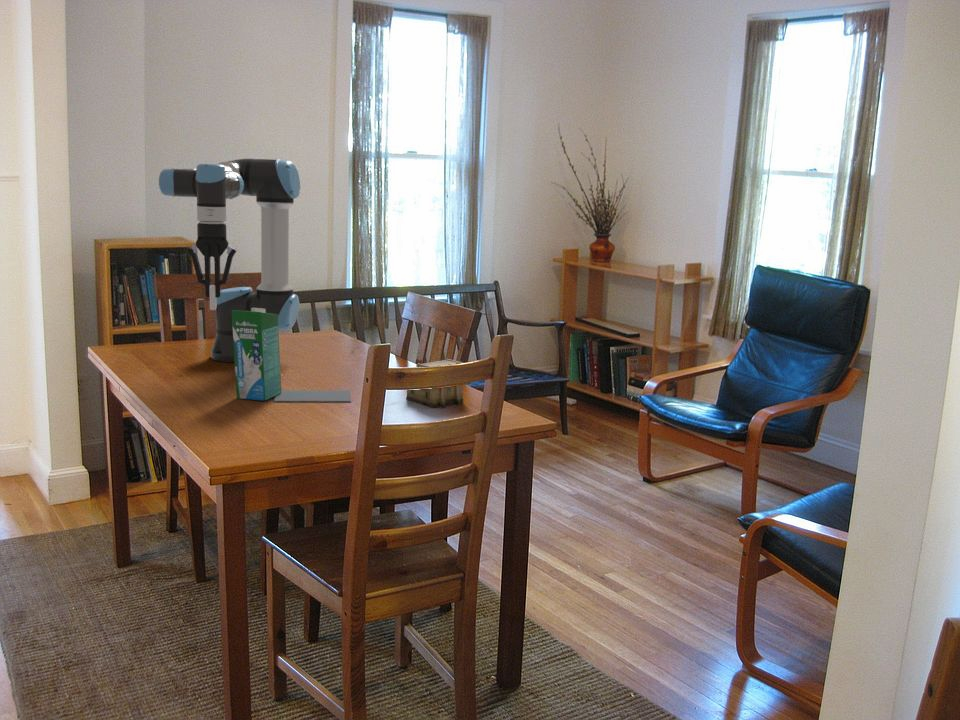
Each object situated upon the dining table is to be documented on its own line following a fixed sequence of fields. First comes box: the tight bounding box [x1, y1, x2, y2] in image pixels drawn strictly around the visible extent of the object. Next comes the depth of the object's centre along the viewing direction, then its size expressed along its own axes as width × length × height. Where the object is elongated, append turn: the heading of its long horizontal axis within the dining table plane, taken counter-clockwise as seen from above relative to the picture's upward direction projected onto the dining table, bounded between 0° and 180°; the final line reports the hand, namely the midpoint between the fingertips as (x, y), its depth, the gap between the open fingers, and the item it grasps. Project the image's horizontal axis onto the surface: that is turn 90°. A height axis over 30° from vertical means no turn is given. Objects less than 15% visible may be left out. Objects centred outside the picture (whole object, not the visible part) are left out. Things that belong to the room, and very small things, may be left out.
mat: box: [273, 389, 352, 403], centre depth 269 cm, size 12×21×1 cm, turn 98°
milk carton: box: [232, 308, 282, 402], centre depth 264 cm, size 9×9×25 cm
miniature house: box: [405, 358, 464, 409], centre depth 270 cm, size 15×14×11 cm
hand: (213, 309), depth 260 cm, fingers closed
